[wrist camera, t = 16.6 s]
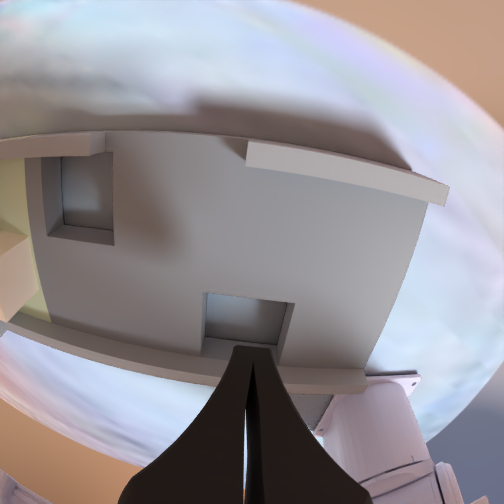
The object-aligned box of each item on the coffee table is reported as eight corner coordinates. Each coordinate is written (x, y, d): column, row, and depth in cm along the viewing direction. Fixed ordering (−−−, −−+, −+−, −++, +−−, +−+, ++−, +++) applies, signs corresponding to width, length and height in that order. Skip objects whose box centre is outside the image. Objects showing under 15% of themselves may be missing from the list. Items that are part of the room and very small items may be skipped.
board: (352, 359, 20) (366, 405, 16) (21, 303, 19) (-7, 333, 15) (416, 172, 14) (461, 192, 10) (-4, 140, 13) (-47, 152, 9)
